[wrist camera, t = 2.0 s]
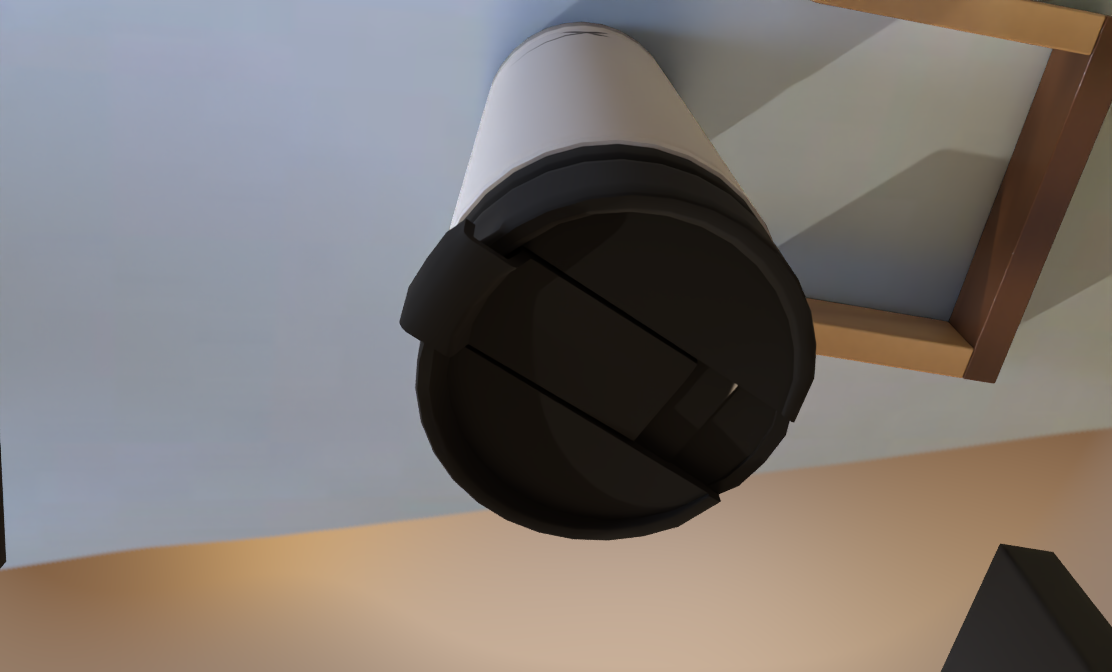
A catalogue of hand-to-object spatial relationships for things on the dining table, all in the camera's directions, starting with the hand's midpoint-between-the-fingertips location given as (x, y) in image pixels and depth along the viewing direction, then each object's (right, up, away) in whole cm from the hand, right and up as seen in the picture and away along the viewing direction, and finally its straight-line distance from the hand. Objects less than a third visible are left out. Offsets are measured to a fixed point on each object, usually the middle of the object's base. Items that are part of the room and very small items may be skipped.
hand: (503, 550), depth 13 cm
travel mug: (+1, +10, +20) cm, 22 cm away
